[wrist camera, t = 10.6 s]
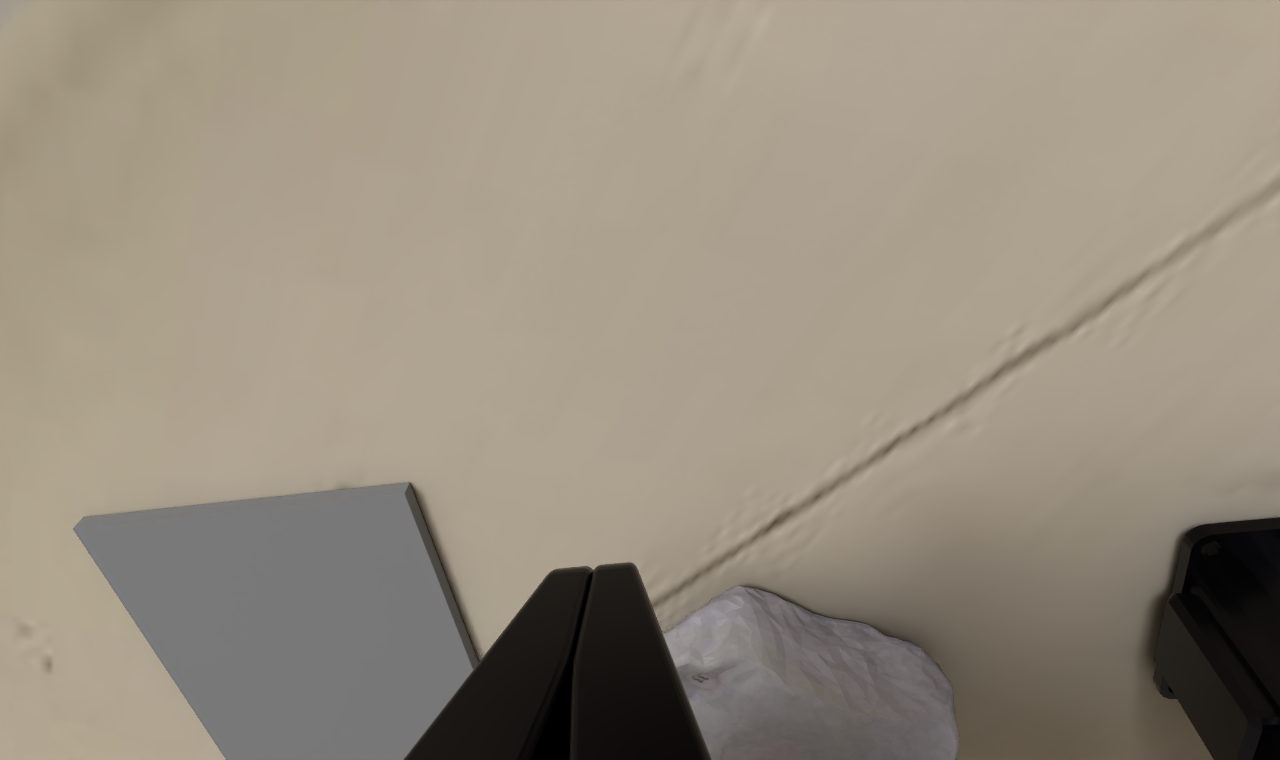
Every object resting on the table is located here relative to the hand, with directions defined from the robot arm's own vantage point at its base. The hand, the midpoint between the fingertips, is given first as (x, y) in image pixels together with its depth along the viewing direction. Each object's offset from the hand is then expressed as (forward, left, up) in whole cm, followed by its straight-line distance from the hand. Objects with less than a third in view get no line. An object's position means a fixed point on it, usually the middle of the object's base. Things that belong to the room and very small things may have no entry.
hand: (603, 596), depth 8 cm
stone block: (+5, +14, -11) cm, 19 cm away
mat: (+13, +14, -12) cm, 22 cm away
